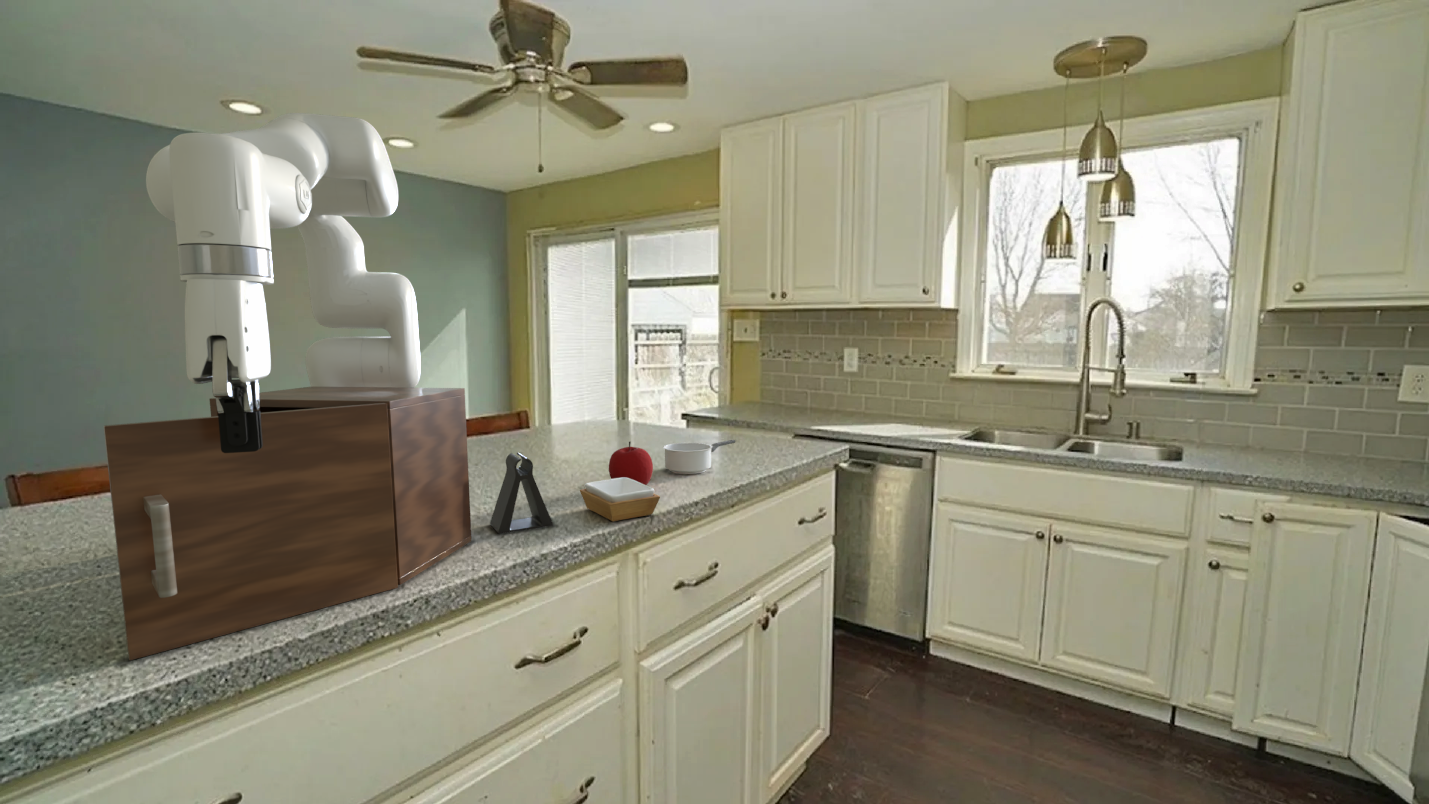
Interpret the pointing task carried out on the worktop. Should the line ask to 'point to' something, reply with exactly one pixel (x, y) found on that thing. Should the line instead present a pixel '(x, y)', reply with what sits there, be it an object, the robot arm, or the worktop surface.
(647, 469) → the apple
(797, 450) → the worktop surface
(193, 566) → the cupboard door
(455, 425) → the cupboard
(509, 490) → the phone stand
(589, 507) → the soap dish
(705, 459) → the saucepan
